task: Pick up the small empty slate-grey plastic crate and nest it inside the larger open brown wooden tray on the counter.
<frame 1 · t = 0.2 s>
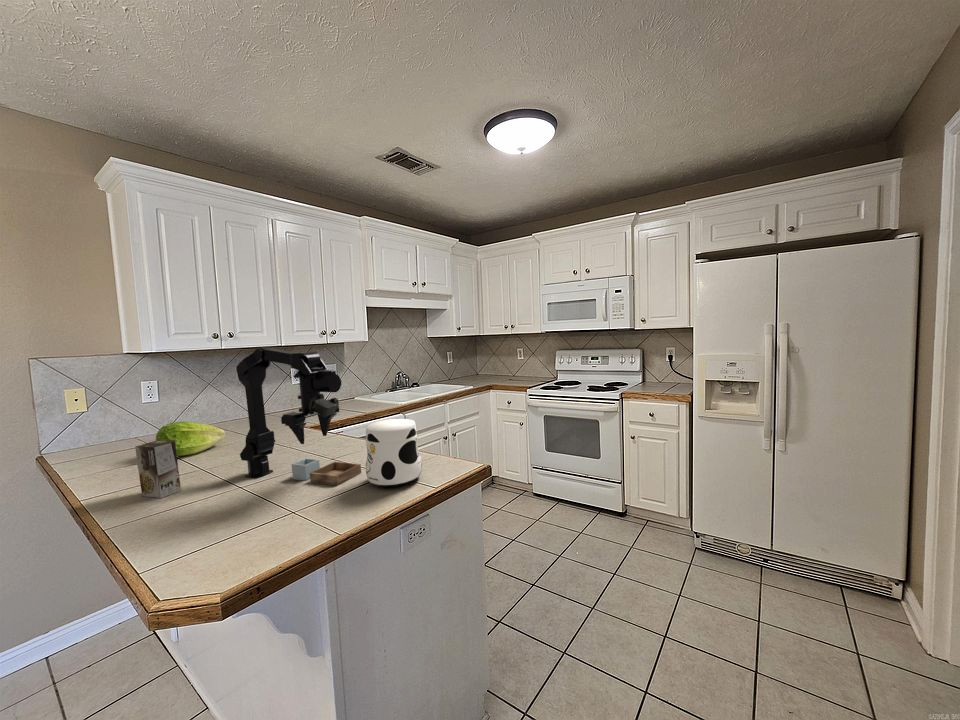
hand: (313, 439, 127), 14 cm above the table, fingers open, 9 cm apart
lettuce: (194, 452, 171), on the table
brown wooden tray: (336, 477, 131), on the table
milk container: (395, 481, 126), on the table
small crate: (306, 476, 134), on the table
coffee box: (161, 493, 126), on the table
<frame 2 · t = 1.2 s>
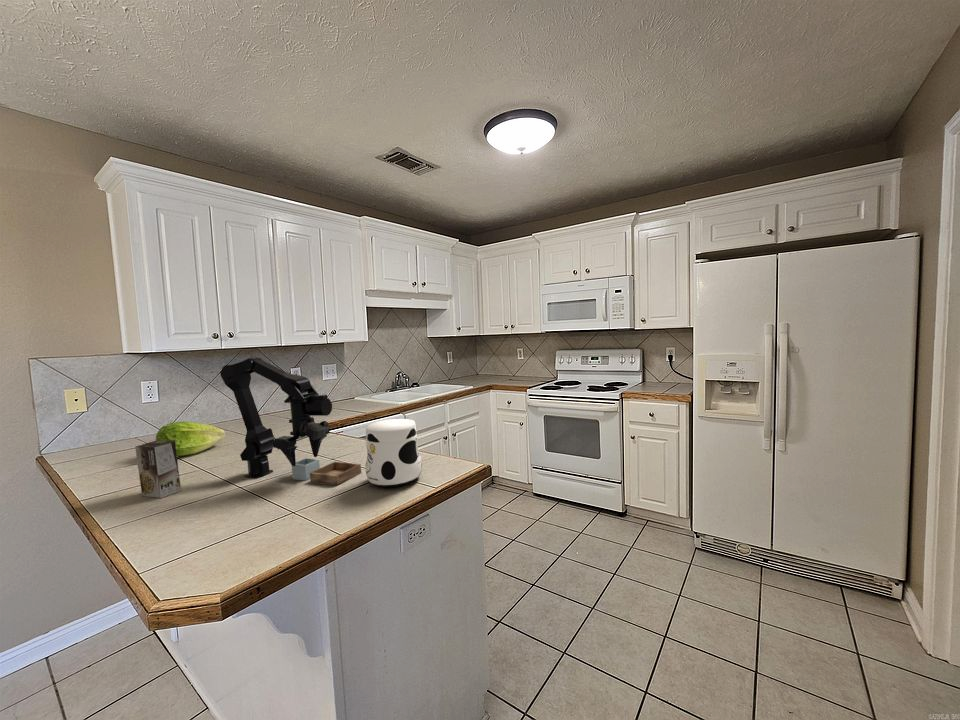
hand: (305, 461, 133), 5 cm above the table, fingers open, 9 cm apart
nothing on the table moved.
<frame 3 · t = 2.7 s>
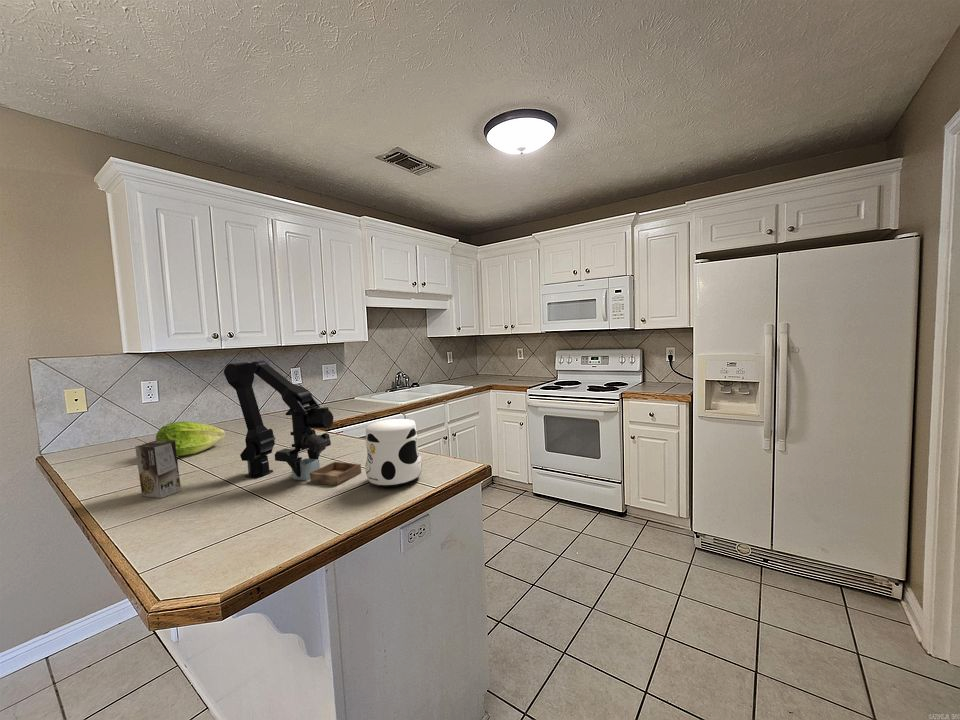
hand: (306, 473, 134), 1 cm above the table, fingers closed on small crate, 6 cm apart
small crate: (306, 476, 134), on the table, touching gripper
everything else where it was.
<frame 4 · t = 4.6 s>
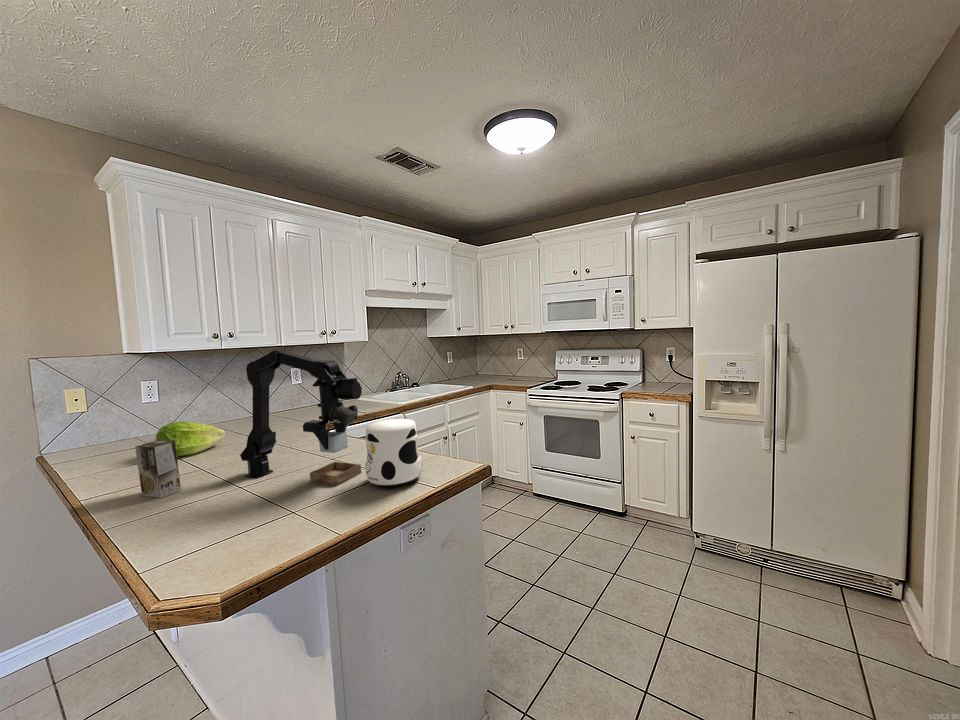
hand: (333, 446, 130), 10 cm above the table, fingers closed on small crate, 6 cm apart
small crate: (334, 449, 130), point 9 cm above the table, touching gripper
everything else where it was.
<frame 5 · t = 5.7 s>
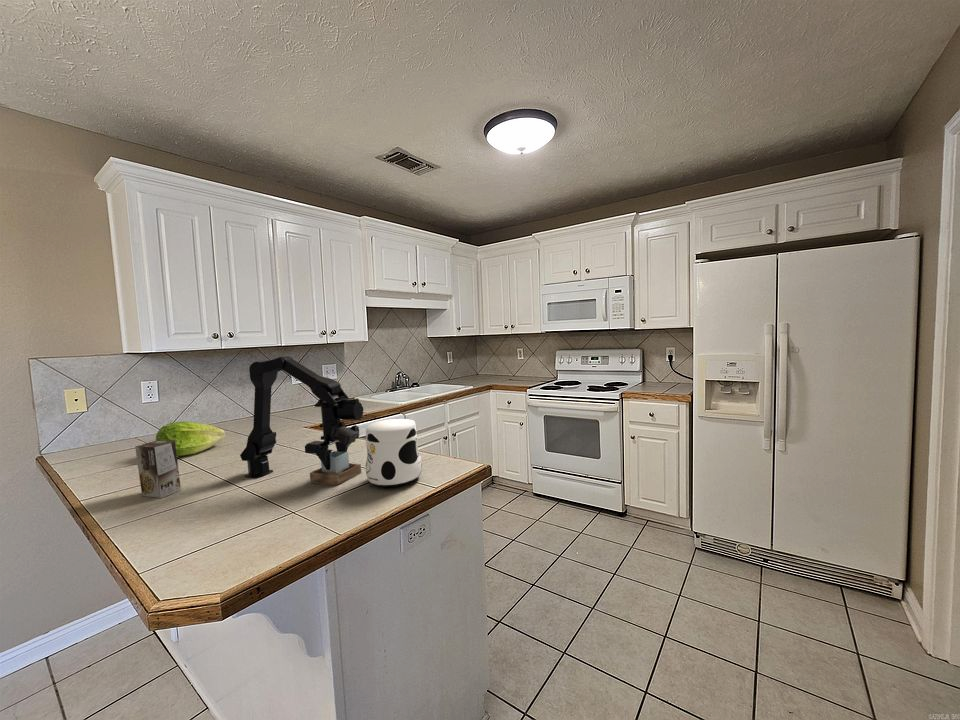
hand: (335, 466, 131), 4 cm above the table, fingers closed on small crate, 6 cm apart
small crate: (335, 469, 131), point 3 cm above the table, touching gripper
everything else where it was.
when the fingers open (3 cm above the table, at t = 6.6 s): small crate drops 2 cm, resting on brown wooden tray.
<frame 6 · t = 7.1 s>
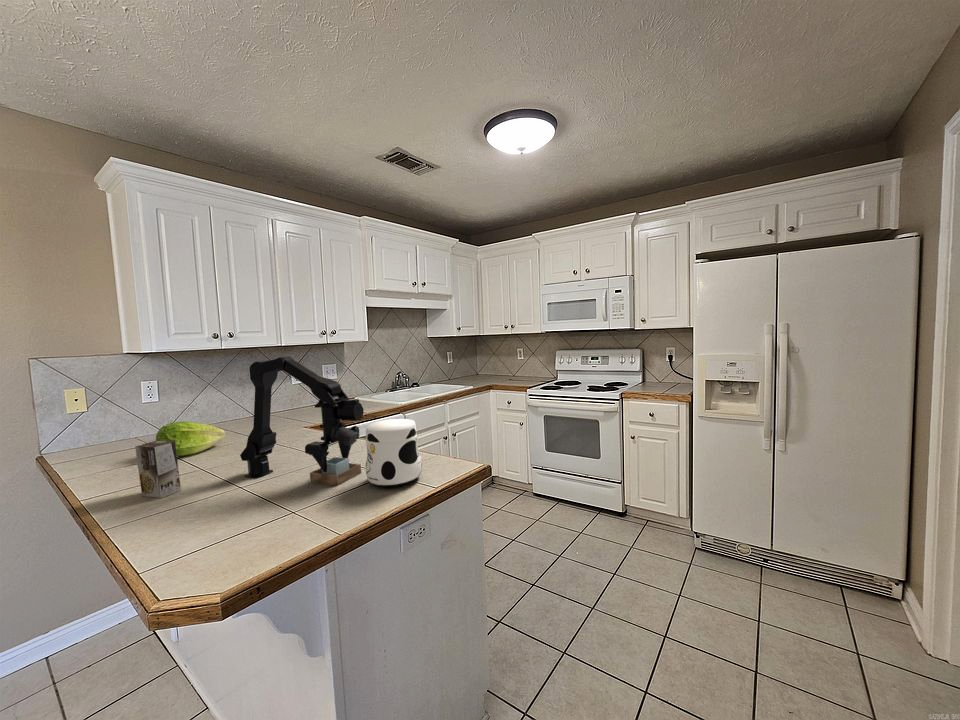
hand: (335, 467, 131), 3 cm above the table, fingers open, 9 cm apart
small crate: (336, 475, 131), point 1 cm above the table, touching brown wooden tray
everything else where it was.
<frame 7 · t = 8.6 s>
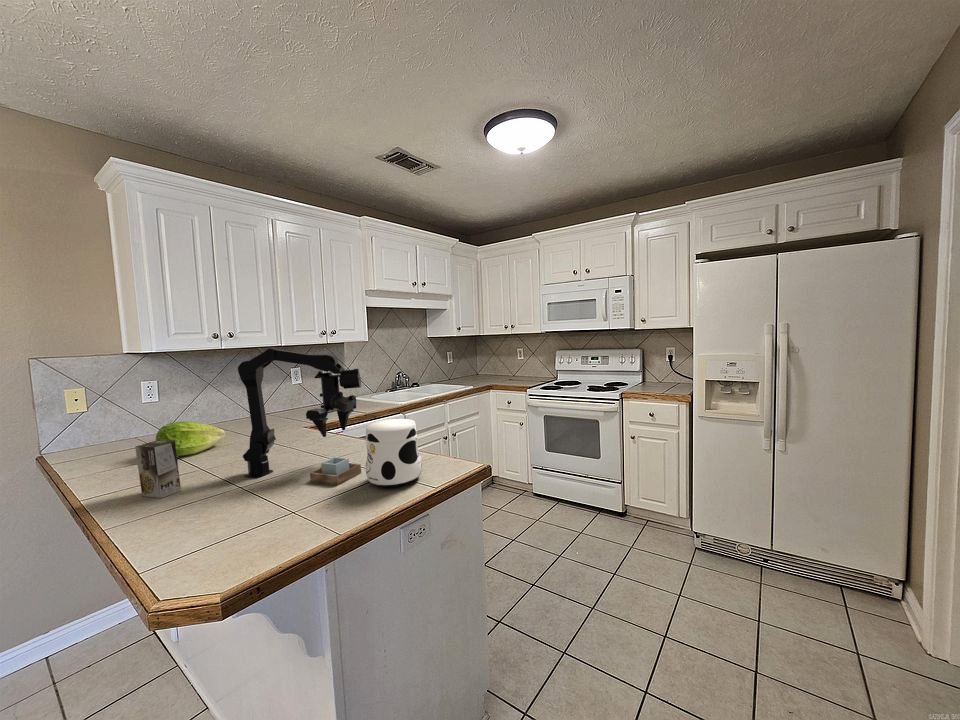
hand: (334, 433, 141), 12 cm above the table, fingers open, 9 cm apart
nothing on the table moved.
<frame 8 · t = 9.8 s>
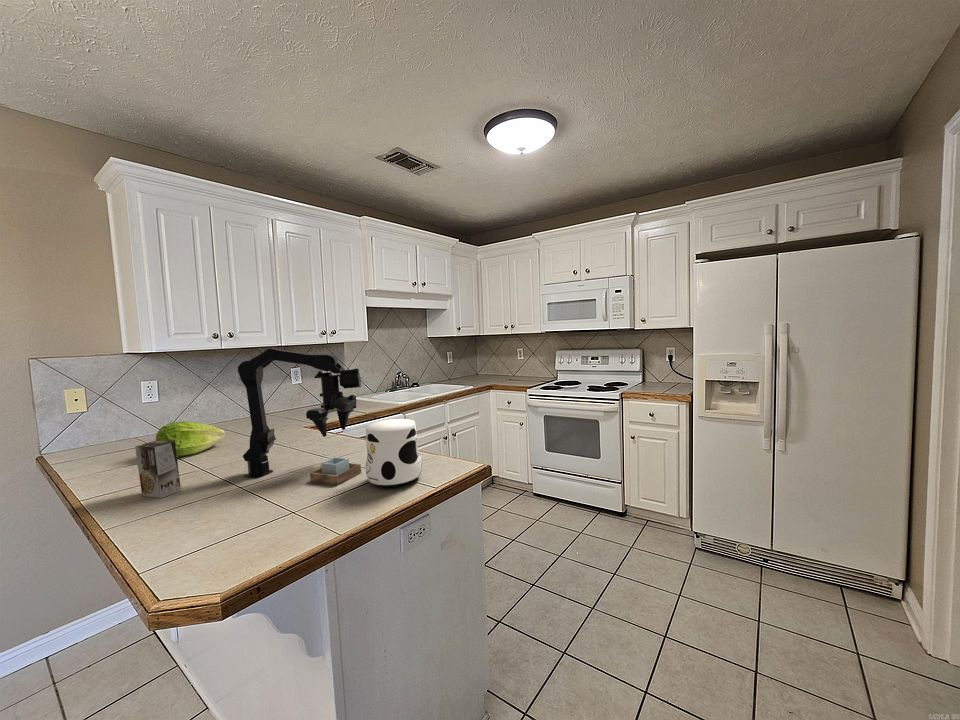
hand: (334, 433, 142), 12 cm above the table, fingers open, 9 cm apart
nothing on the table moved.
at the end: small crate 0.0 cm off-centre on the brown wooden tray, point 0.6 cm above the brown wooden tray's base; small crate tilted 0°; the gripper is holding nothing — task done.
